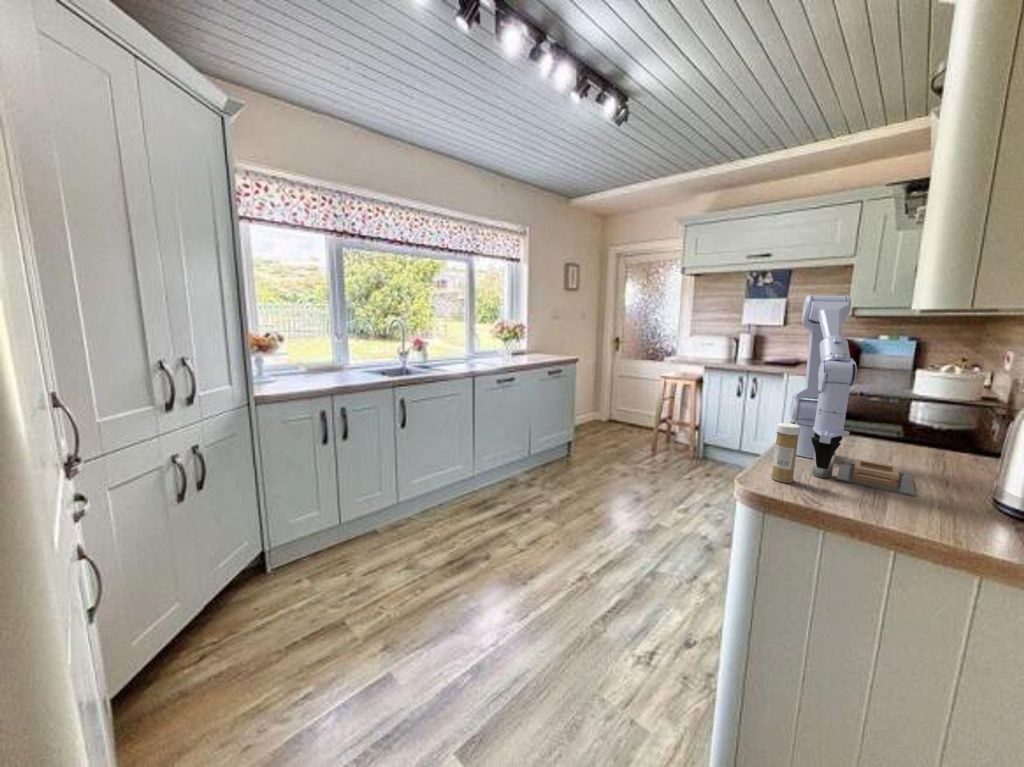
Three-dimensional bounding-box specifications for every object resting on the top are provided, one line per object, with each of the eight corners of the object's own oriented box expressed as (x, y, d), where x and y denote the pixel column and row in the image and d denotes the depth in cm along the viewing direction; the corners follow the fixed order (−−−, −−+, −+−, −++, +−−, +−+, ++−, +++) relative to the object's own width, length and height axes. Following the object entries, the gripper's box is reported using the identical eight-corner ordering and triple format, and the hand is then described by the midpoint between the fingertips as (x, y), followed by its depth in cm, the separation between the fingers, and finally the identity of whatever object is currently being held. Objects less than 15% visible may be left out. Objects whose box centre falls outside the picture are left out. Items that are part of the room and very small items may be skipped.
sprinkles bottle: (796, 481, 104) (804, 425, 101) (787, 485, 101) (794, 428, 99) (776, 475, 107) (783, 421, 105) (766, 478, 105) (773, 423, 103)
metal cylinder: (812, 470, 110) (816, 443, 109) (832, 475, 108) (836, 447, 107) (810, 475, 107) (814, 447, 106) (831, 479, 105) (835, 451, 104)
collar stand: (839, 465, 116) (841, 453, 115) (911, 479, 107) (913, 466, 107) (836, 480, 105) (838, 467, 104) (915, 497, 96) (917, 483, 96)
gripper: (850, 419, 97) (841, 478, 99) (853, 409, 108) (844, 462, 110) (812, 413, 101) (804, 470, 104) (818, 404, 112) (811, 455, 115)
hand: (822, 465), depth 107 cm, fingers closed on metal cylinder, 4 cm apart
